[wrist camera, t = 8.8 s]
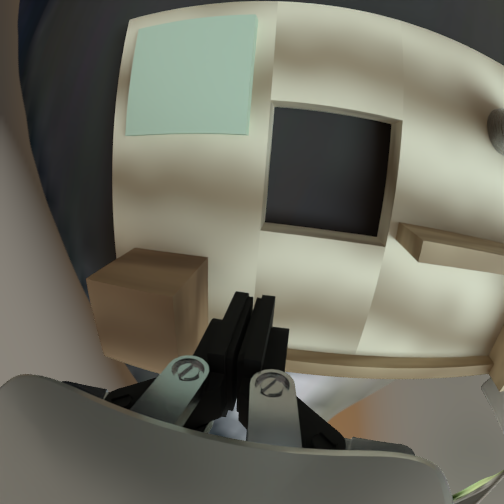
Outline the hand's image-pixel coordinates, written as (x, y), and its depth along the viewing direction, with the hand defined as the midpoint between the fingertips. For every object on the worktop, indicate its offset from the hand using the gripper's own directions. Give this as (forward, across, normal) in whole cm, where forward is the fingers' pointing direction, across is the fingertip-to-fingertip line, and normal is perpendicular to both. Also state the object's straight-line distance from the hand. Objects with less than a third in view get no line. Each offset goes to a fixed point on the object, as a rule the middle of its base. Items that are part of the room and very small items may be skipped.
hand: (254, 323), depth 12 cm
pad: (+5, +5, -11) cm, 13 cm away
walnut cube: (+4, +6, +2) cm, 8 cm away
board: (+7, -5, -5) cm, 10 cm away
